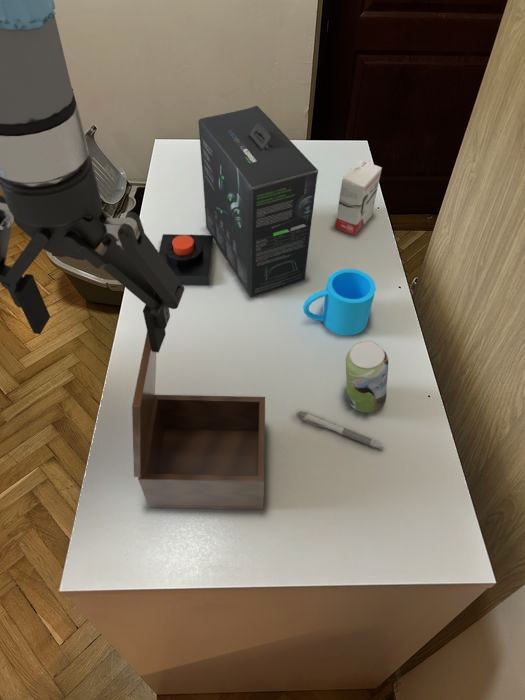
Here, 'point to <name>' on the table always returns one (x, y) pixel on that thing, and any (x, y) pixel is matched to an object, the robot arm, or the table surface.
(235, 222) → the headset box
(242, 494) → the chest
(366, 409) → the beverage can
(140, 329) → the table surface
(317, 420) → the pen
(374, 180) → the ink box
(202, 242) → the button block
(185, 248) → the button
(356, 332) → the mug
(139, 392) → the brown wooden lid
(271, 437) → the table surface
